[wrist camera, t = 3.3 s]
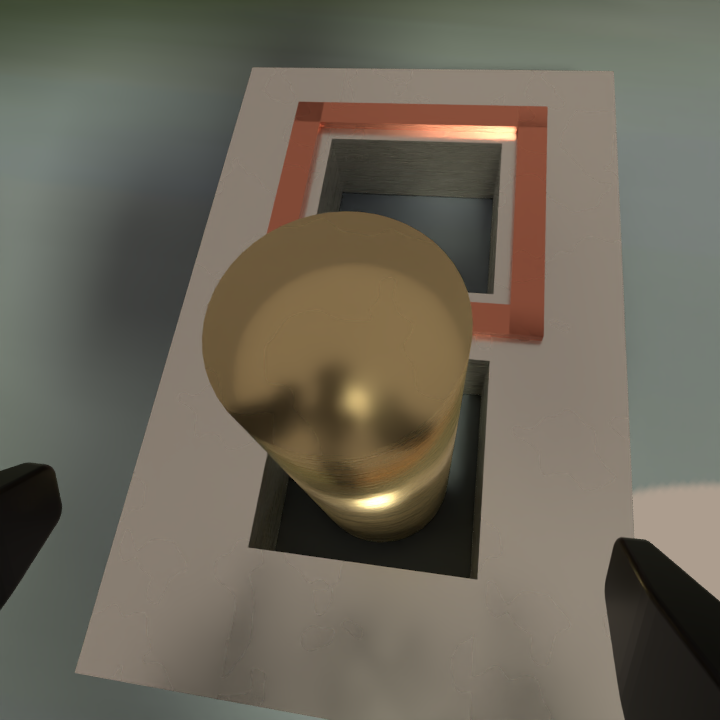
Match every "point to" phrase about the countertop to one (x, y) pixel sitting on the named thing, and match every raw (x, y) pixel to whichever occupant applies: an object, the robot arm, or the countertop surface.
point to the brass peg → (347, 364)
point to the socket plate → (483, 377)
